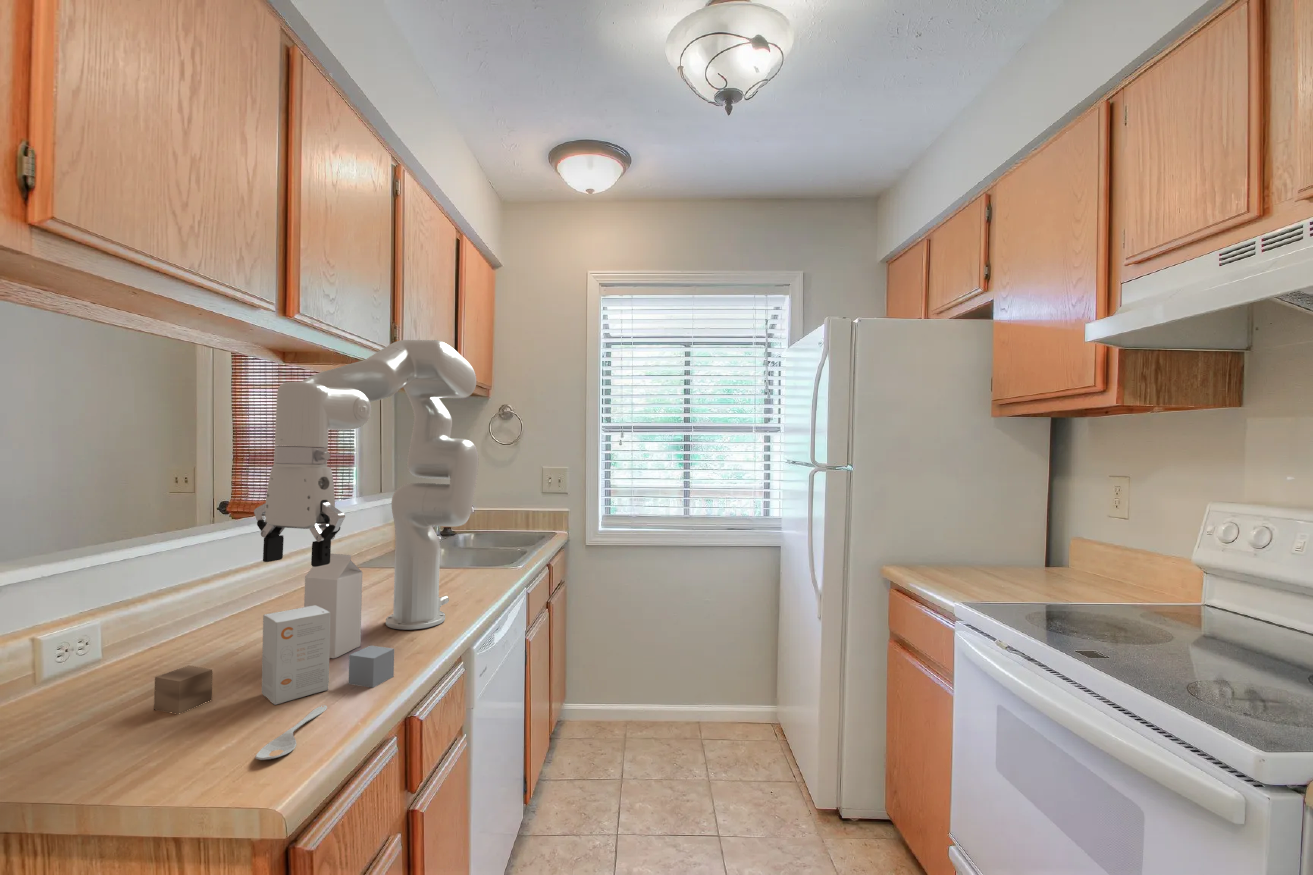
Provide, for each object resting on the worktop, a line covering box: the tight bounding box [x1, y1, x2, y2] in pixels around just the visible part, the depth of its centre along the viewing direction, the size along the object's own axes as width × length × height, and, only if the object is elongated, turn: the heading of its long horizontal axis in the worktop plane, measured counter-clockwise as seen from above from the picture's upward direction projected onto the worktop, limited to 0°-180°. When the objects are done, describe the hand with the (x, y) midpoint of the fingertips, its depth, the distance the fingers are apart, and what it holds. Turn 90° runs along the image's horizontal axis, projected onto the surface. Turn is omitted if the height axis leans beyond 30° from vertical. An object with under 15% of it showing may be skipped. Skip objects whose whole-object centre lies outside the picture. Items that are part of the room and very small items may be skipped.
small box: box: [261, 605, 330, 706], centre depth 98 cm, size 8×6×13 cm
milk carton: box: [303, 553, 363, 659], centre depth 116 cm, size 7×7×19 cm
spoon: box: [254, 704, 328, 761], centre depth 86 cm, size 4×21×2 cm, turn 6°
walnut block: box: [153, 665, 214, 715], centre depth 92 cm, size 5×5×5 cm
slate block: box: [348, 645, 395, 688], centre depth 103 cm, size 5×5×5 cm
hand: (296, 563), depth 97 cm, fingers open, 9 cm apart
